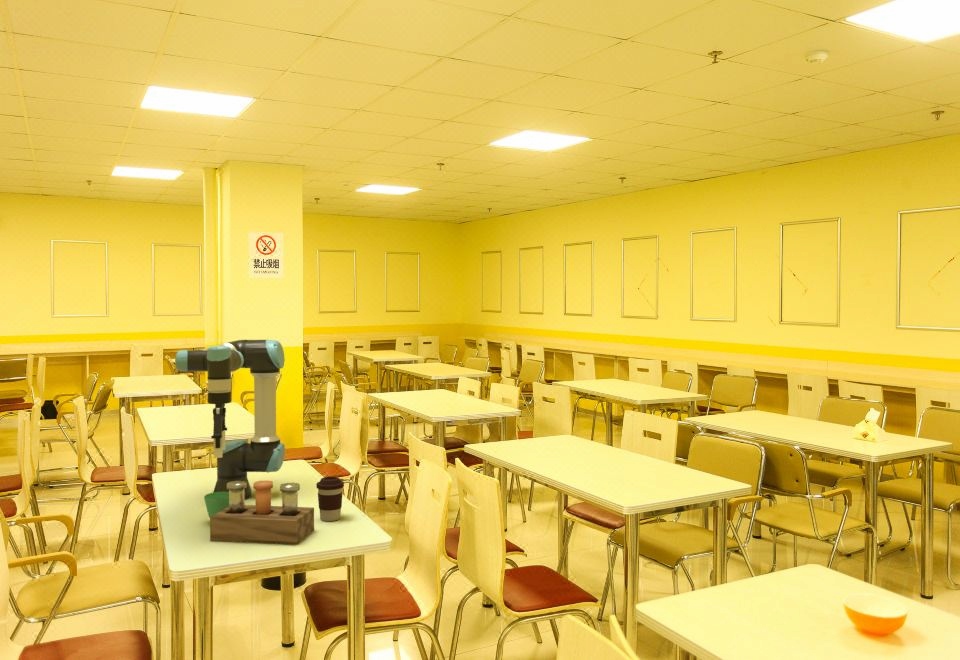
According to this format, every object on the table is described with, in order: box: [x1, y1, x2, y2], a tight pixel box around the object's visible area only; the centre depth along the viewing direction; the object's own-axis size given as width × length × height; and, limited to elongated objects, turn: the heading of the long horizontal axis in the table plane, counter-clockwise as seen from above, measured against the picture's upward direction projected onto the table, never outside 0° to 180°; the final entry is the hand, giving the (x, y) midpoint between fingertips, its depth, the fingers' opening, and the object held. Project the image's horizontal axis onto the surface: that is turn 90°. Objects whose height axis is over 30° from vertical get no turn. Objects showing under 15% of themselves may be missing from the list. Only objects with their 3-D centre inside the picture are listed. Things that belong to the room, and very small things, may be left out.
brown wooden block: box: [209, 504, 315, 546], centre depth 246 cm, size 16×30×8 cm, turn 83°
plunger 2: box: [279, 482, 301, 516], centre depth 244 cm, size 6×6×11 cm
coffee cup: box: [315, 476, 345, 522], centre depth 265 cm, size 10×10×15 cm
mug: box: [203, 492, 229, 519], centre depth 262 cm, size 15×10×10 cm
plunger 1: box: [227, 481, 247, 514], centre depth 247 cm, size 6×6×11 cm
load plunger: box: [252, 480, 274, 515], centre depth 245 cm, size 6×6×11 cm
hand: (219, 453), depth 245 cm, fingers open, 13 cm apart
